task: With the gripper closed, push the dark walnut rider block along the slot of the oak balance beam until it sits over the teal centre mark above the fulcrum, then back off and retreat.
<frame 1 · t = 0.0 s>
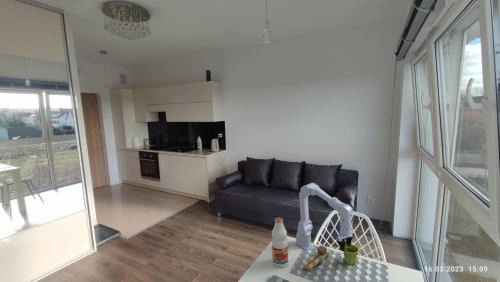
hand: (345, 248, 135), 10 cm above the table, fingers open, 7 cm apart
fruit juice: (280, 263, 140), on the table
rider: (322, 251, 143), point 4 cm above the table, slide at 6.0 cm
plant pot: (350, 262, 138), on the table
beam: (316, 262, 139), on the table
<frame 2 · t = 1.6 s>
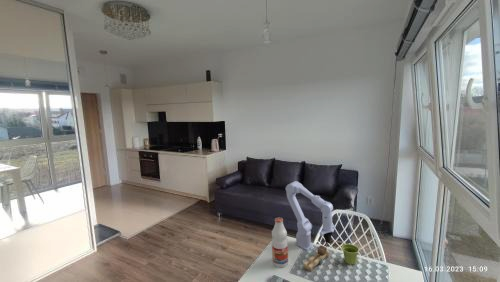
hand: (327, 242, 147), 7 cm above the table, fingers closed
nothing on the table moved.
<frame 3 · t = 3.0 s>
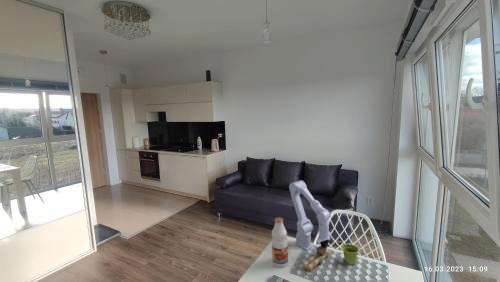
hand: (324, 250, 144), 4 cm above the table, fingers closed
rider: (321, 252, 142), point 4 cm above the table, slide at 4.9 cm, touching gripper
everything else where it was.
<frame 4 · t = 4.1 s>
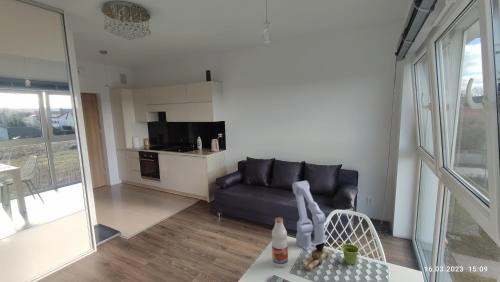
hand: (319, 253, 141), 4 cm above the table, fingers closed
rider: (316, 255, 139), point 4 cm above the table, slide at -0.1 cm, touching gripper
everything else where it was.
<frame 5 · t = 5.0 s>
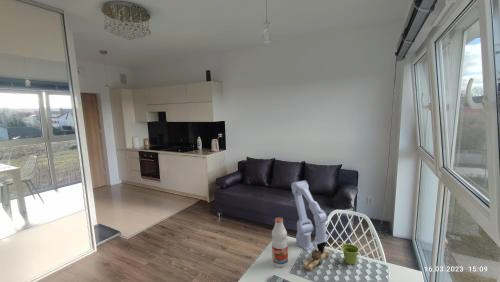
hand: (320, 252, 142), 4 cm above the table, fingers closed
rider: (316, 255, 139), point 4 cm above the table, slide at -0.2 cm
everything else where it was.
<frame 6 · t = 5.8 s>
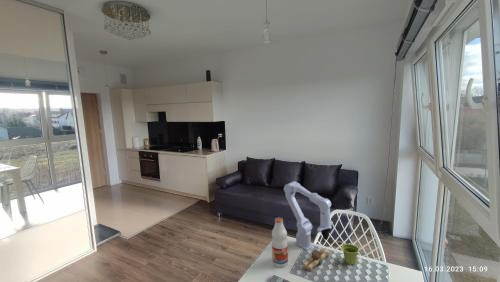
hand: (325, 239, 146), 10 cm above the table, fingers closed
nothing on the table moved.
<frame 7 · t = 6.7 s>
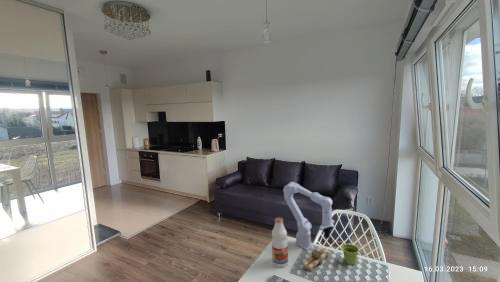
hand: (327, 237, 148), 10 cm above the table, fingers closed
nothing on the table moved.
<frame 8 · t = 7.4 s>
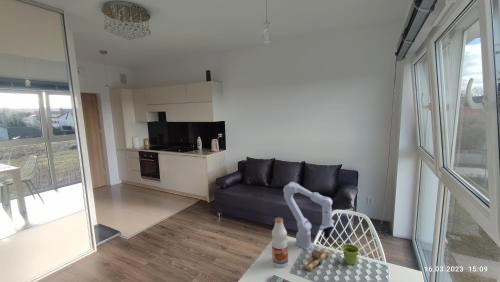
hand: (327, 237, 148), 10 cm above the table, fingers closed
nothing on the table moved.
at the end: rider slide at -0.2 cm; the gripper is holding nothing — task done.
